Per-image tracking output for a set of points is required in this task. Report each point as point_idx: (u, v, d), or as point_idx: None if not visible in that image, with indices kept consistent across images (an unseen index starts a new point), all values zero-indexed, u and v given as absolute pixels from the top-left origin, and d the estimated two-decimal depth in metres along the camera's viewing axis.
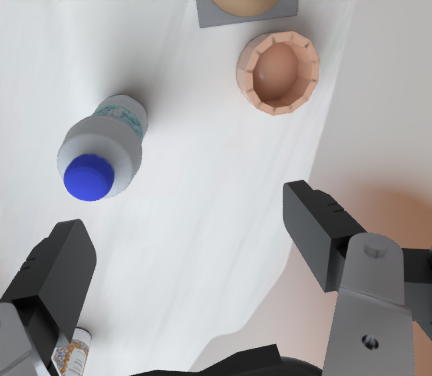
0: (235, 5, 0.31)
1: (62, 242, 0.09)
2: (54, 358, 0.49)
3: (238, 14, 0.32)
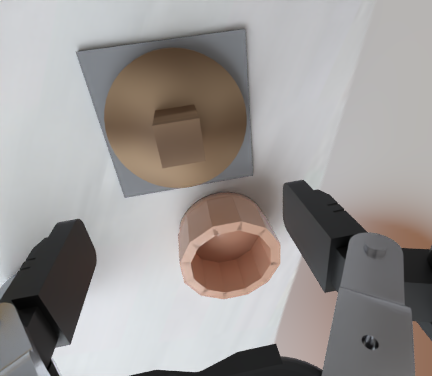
0: (167, 178, 0.24)
1: (62, 242, 0.09)
2: None
3: (172, 186, 0.24)
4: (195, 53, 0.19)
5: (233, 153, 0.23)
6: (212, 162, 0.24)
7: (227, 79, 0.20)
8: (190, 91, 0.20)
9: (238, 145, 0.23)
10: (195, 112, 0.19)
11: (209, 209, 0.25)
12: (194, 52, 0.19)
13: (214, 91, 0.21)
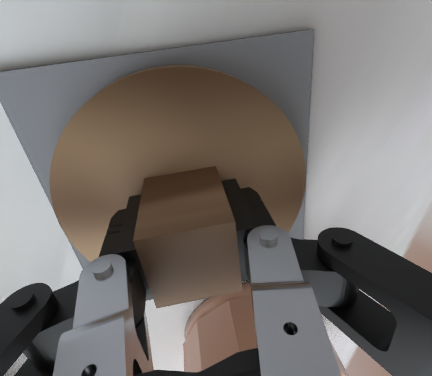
0: None
1: None
2: None
3: None
4: (222, 77, 0.10)
5: None
6: None
7: (277, 122, 0.11)
8: (209, 144, 0.11)
9: (287, 225, 0.14)
10: (222, 195, 0.09)
11: (235, 322, 0.15)
12: (219, 75, 0.10)
13: (253, 143, 0.11)
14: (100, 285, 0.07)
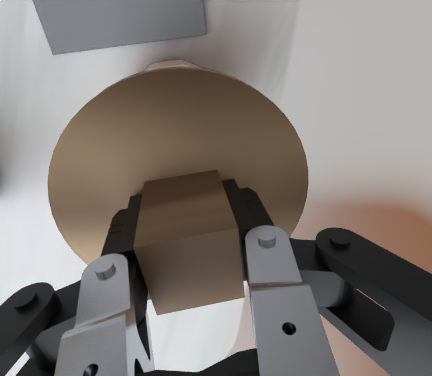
0: None
1: None
2: None
3: None
4: (224, 79, 0.10)
5: None
6: None
7: (280, 126, 0.11)
8: (211, 148, 0.11)
9: (288, 229, 0.14)
10: (224, 200, 0.09)
11: (151, 65, 0.21)
12: (222, 77, 0.10)
13: (255, 147, 0.11)
14: (102, 284, 0.07)
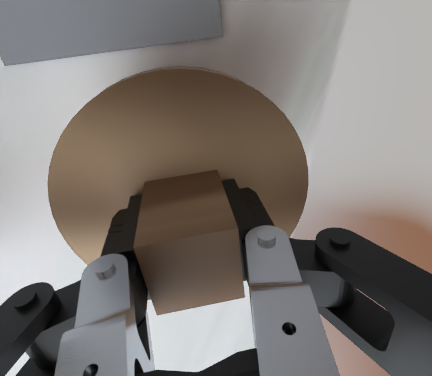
0: None
1: None
2: None
3: None
4: (224, 80, 0.10)
5: None
6: None
7: (280, 126, 0.11)
8: (211, 148, 0.11)
9: (288, 230, 0.14)
10: (224, 200, 0.09)
11: None
12: (222, 77, 0.10)
13: (255, 147, 0.11)
14: (102, 284, 0.07)
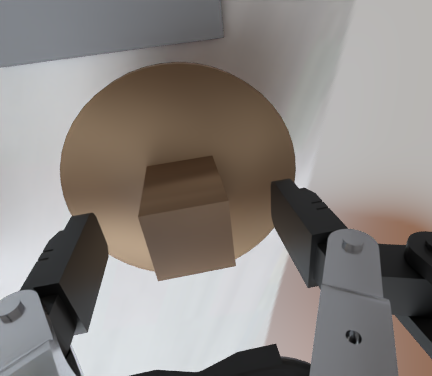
0: None
1: (78, 234, 0.09)
2: None
3: None
4: (218, 74, 0.11)
5: (270, 224, 0.15)
6: (237, 237, 0.15)
7: (268, 116, 0.12)
8: (206, 135, 0.12)
9: None
10: (218, 180, 0.10)
11: None
12: (216, 71, 0.11)
13: (246, 135, 0.12)
14: (1, 329, 0.06)
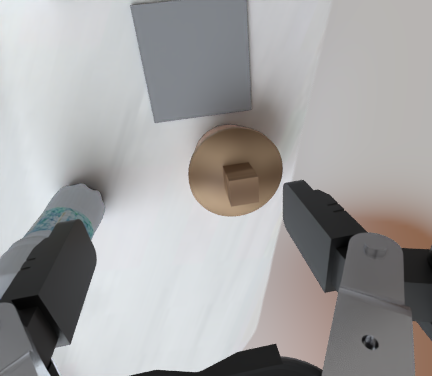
0: (224, 209, 0.34)
1: (62, 242, 0.09)
2: None
3: (227, 215, 0.34)
4: (252, 132, 0.30)
5: (271, 193, 0.34)
6: None
7: (271, 146, 0.31)
8: (247, 154, 0.31)
9: (275, 188, 0.33)
10: (253, 170, 0.29)
11: None
12: (252, 131, 0.30)
13: (262, 154, 0.31)
14: None
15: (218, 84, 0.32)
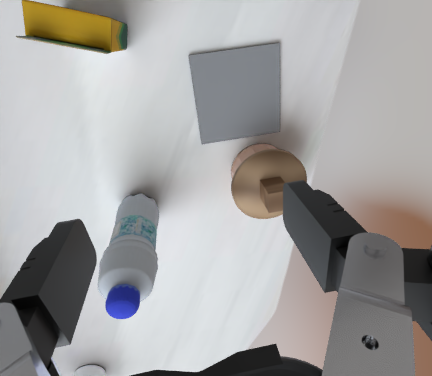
0: (259, 213, 0.42)
1: (62, 242, 0.09)
2: None
3: (261, 218, 0.42)
4: (284, 153, 0.37)
5: None
6: None
7: (298, 164, 0.39)
8: (279, 170, 0.39)
9: None
10: None
11: (254, 150, 0.40)
12: (284, 152, 0.37)
13: (291, 170, 0.39)
14: None
15: (254, 112, 0.40)
